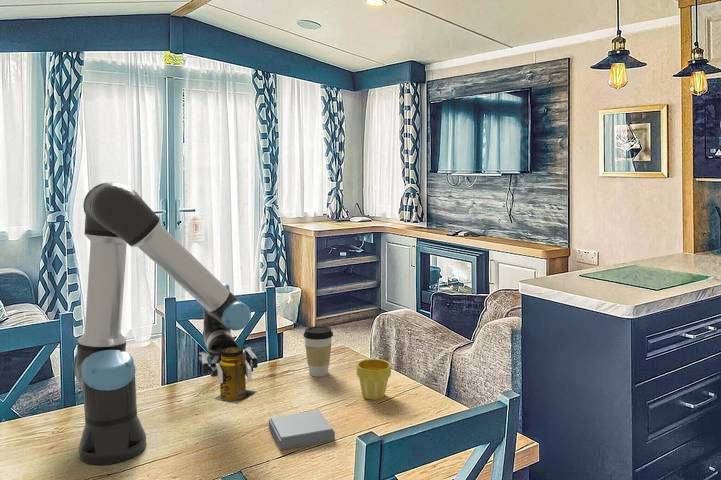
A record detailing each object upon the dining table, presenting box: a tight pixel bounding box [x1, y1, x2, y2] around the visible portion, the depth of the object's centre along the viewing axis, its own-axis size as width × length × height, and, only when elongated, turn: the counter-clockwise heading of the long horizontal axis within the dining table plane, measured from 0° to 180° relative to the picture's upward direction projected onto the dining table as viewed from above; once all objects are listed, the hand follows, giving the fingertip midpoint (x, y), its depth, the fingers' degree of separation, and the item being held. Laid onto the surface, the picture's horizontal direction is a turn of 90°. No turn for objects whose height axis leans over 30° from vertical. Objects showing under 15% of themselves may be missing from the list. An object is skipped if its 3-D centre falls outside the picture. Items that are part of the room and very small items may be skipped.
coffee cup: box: [303, 325, 334, 378], centre depth 193 cm, size 10×10×15 cm
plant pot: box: [356, 358, 392, 401], centre depth 175 cm, size 10×10×10 cm
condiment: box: [213, 347, 258, 405], centre depth 142 cm, size 7×8×12 cm
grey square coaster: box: [268, 409, 336, 451], centre depth 150 cm, size 14×13×3 cm
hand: (235, 375), depth 137 cm, fingers closed on condiment, 6 cm apart
